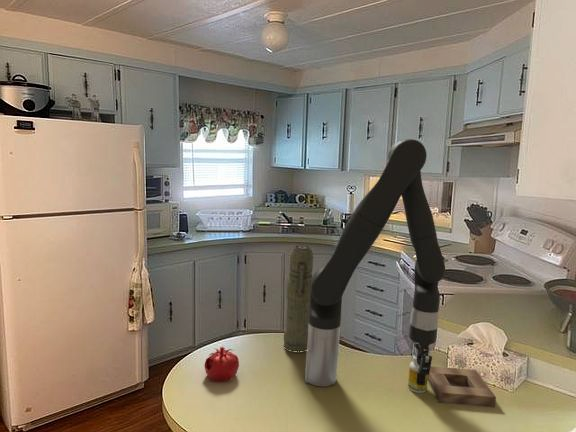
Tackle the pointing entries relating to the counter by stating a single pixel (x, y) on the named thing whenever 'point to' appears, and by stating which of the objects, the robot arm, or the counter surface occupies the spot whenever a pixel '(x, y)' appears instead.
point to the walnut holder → (460, 387)
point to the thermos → (298, 299)
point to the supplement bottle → (415, 378)
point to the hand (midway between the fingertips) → (417, 379)
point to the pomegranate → (221, 365)
